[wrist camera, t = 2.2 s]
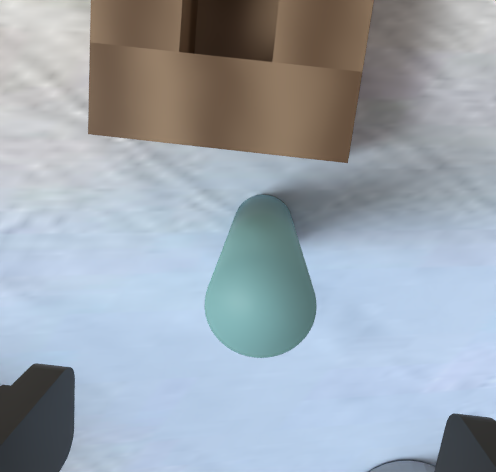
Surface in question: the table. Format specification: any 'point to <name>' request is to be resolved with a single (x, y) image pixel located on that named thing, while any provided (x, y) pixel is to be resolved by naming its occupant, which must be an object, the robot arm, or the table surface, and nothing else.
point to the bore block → (229, 73)
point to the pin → (261, 283)
